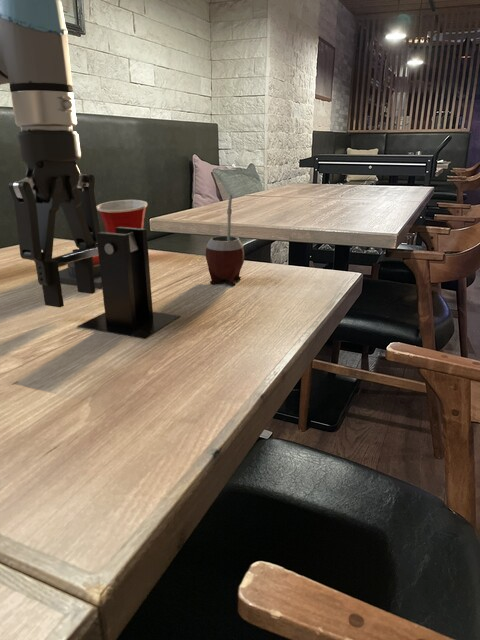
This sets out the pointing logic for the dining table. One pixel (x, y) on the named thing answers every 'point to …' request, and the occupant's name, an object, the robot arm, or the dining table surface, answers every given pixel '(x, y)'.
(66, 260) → the lever
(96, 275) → the button box
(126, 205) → the plastic cup
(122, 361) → the dining table surface
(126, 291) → the bracket
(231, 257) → the mate gourd
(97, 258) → the button
